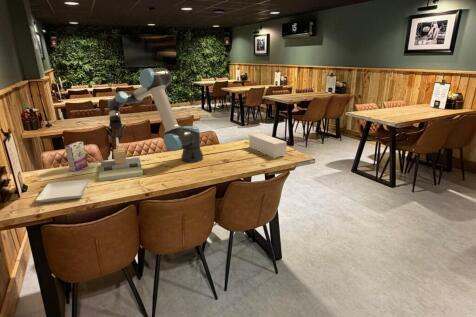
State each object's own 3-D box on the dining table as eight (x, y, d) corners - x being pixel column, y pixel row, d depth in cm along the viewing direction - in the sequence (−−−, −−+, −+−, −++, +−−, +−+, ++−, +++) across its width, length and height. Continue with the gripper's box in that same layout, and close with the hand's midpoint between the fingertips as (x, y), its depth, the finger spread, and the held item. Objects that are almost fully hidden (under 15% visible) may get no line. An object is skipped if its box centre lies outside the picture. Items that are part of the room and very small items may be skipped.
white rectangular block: (249, 148, 235) (249, 134, 231) (260, 146, 240) (260, 132, 236) (274, 158, 209) (274, 144, 205) (285, 156, 214) (286, 141, 210)
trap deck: (101, 165, 197) (101, 161, 196) (139, 160, 205) (139, 157, 204) (99, 181, 170) (98, 177, 169) (143, 175, 178) (142, 171, 178)
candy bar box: (81, 165, 197) (77, 141, 192) (88, 165, 196) (83, 141, 191) (69, 171, 187) (64, 146, 182) (76, 171, 186) (71, 146, 181)
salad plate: (84, 200, 148) (83, 194, 147) (36, 206, 143) (34, 199, 141) (91, 184, 168) (90, 178, 166) (49, 188, 162) (47, 183, 161)
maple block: (115, 161, 197) (113, 149, 194) (126, 160, 199) (124, 148, 197) (114, 164, 190) (113, 152, 188) (126, 163, 193) (125, 151, 190)
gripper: (125, 120, 219) (128, 148, 210) (105, 121, 215) (108, 150, 206) (124, 114, 213) (127, 142, 203) (104, 115, 209) (107, 144, 199)
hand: (118, 146), depth 205 cm, fingers closed
